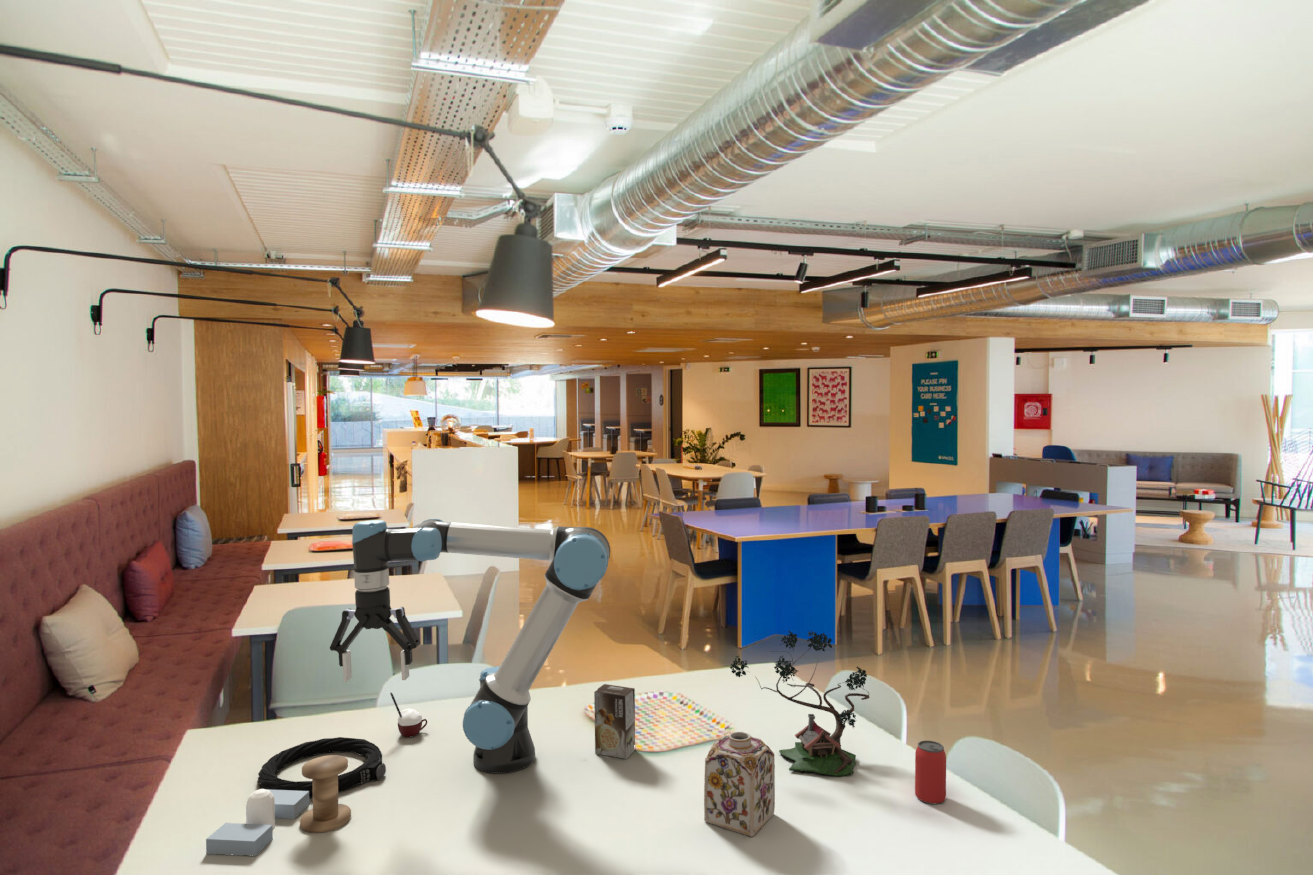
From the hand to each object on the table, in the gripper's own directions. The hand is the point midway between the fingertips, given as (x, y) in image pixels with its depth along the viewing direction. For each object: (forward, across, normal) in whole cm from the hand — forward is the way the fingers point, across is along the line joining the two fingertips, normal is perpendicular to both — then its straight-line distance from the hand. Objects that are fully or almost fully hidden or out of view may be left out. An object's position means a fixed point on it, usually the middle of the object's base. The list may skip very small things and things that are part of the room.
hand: (376, 679), depth 177 cm
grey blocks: (+24, -18, -19) cm, 36 cm away
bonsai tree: (+29, +100, +19) cm, 105 cm away
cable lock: (+25, -16, +6) cm, 31 cm away
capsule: (+25, -18, -19) cm, 36 cm away
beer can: (+30, +126, -1) cm, 129 cm away
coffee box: (+27, +52, +20) cm, 63 cm away
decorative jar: (+28, +82, -11) cm, 88 cm away
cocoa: (+25, -4, +29) cm, 38 cm away
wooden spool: (+25, -6, -15) cm, 30 cm away
